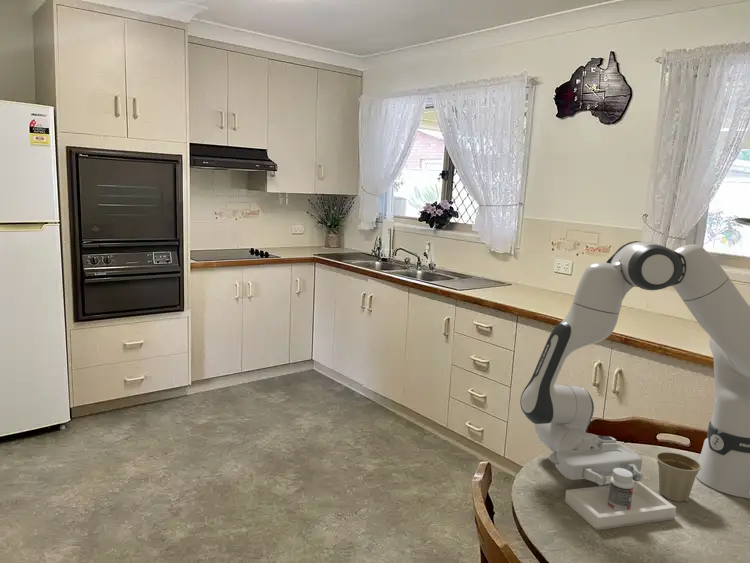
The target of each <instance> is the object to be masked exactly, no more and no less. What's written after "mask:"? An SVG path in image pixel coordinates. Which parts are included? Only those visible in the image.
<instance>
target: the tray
mask: <svg viewBox="0 0 750 563" xmlns="http://www.w3.org/2000/svg"><path fill="white" fill-rule="evenodd" d="M632 482H633V481H632ZM633 485H634V487H633V494H632V501H631V509H630V510H625V511H618V512H616V511H614V510H612V509H610V508H609V507H608V505H607V501H608V494H609V486H610V484H608V485H607V484H606V485H598V486H592V487H591V486H590V487H580V488H573V489H566V491H565V497H564V502H565V503H566V504H567V505H568V506H569V507H570V508H571V509H572V510H573V511H575V512H576V514H578V515H579V516H580V517H582V519H584V520H585V521H586V522H587V523H588V524H589V525H590V526H592V528H594V529H595V530H596V531H601V530H609V529H615V528H623V527H627V526H628V527H630V526H636V525H643V524H649V523H651V524H652V523H657V522H665V521H671V520H672V521H673V520H675V519H676V512H677V506H675V505H674V504H672V503H671V502H669V501H668V500H666V499H665V497H662V496H660V494H658V493H656V492H655V491H653V490H652V488H651V489H650V488H649V487H647V486H646V485H645V484H643V483H642V482H641V481H634V482H633Z"/></svg>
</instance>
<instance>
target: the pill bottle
mask: <svg viewBox="0 0 750 563" xmlns="http://www.w3.org/2000/svg"><path fill="white" fill-rule="evenodd" d="M612 475H613V476H610V480H609V485H610V486H609V494H608V501H607V505H608V507H609V508H610V509H612V510H614V511H616V512H618V511H625V510H630V509H631V501H632V494H633V487H634V485H633V474H632V472H630V471H628V470H626V469H623V468H615V469H613V474H612Z"/></svg>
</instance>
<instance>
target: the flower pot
mask: <svg viewBox="0 0 750 563" xmlns="http://www.w3.org/2000/svg"><path fill="white" fill-rule="evenodd" d="M655 459H656V460H657V462H656V463H657V465H658V492H659V495H662V496H664V498H666V499H668V500H671V501H675V502H679V503H680V502H687V501H688V500H689V499H690V495H691V492H692V488H693V486H694V483H695V481H696V480H695V479H696V475H697V474H698V472H699V470H701V464H700V463H699V462H698V461H699V460H696V459H694V458H693V457H690V456H688V455H685V454H682V453H677V452H673V451H672V452H671V451H669V452H668V451H661V452H657V453H656V454H655Z"/></svg>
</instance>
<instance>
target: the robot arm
mask: <svg viewBox="0 0 750 563" xmlns="http://www.w3.org/2000/svg"><path fill="white" fill-rule="evenodd" d="M614 252H615V253H614V254H612V256H610V257H609V258H608V260H607V261H606V262H601V261H600V262H595V263H594V262H593V263H591V264H590V265H588V266H586V268H585V269H584V272H583V273H582V276H581V277H580V280H579V282H578V284H577V287H576V290H575V293H574V296H573V299H572V300H573V301H572V304H571V306H570V308H569V310H568V312H567V314H566V315H565V317H564V319H563V320H562V321H561V322H559V323H558V324H556V325H555V326H554V327H553V329H552V330H551V333H550V334H549V336H548V338H547V341H546V343H545V345H544V347H543V350H542V352H541V354H540V357H539V358H538V361H537V363H536V367H535V369H534V371H533V374H532V376H531V378H530V379H529V382H528V383H527V384H526V386H525V387H524V389H523V391H522V393H521V396H520V403H519V404H520V408H521V411H522V413H523V414H524V415H525V417H526V418H527V419H528V420H529V421H530V422H531V423H533V424H534V431H535V434H536V436H537V438H538V440H540V442H541V443H542V444H543V445H544V446H545V447H546V448H548V450H550V451H551V452H552V453H550V455H549V456H548V459H549V461H551V463H553V464H555V468H556V469H557V470H558V472H559V473H560V474H561V475H563V477H564V478H566V479H568V480H571V481H574V480H576V481H577V480H588V481H591V482H594V483H596V484H597V485H598V486H606V485H607V483H608V482H607V481H608V477H613V475H612V474H613V469H615V468H623V469H626V470H628V471H630V472H632V474H633V479H632V481H634V482H642V480H643V476H644V475H643V473H642V472H641V470H642V464H643V459H642V457H641V456H640V455H639V453H637V452H635V451H633V450H632V449H631V448H629V447H627V446H626V445H624V444H621V443H618V442H617V439H616V438H614V437H613V436H607V435H598V434H593V433H590V432H586V431H587V430H588V428H589V426H590V423H591V421H592V419H593V416H594V412H595V405H594V401H593V398H592V396H591V394H590V393H589V391H588V390H587V389H586V388H585V387H582V386H576V385H566V384H556V382H557V379H558V377H559V374H560V373H561V370H562V368H563V366H564V363H565V361H566V359H567V358H568V356H569V355H571V354H572V353H573V352H575V351H576V350H579V349H582V348H584V347H587V346H591V345H595V344H598V343H600V342H602V341H604V340H606V339H607V338H609V337H611V335H612V333H614V330H615V328H616V325H617V323H618V320H619V316H620V312H621V308H622V303H623V300H624V299H625V297H626V295H627V294H628V292H629V291H630V290H632V289H633V288H640V289H641V290H645V291H659V290H663V289H666V288H668V287H673V289H674V290H675V291H676V293H677V294H678V295H679V298H680V299H681V300H682V302H683V303H684V304H685V306H686V307H687V309H688V310H689V312H690V313H691V315H692V317H694V319H695V321H696V322H697V323H698V324H699V326H700V327H701V328H702V329H703V330H704V331H705V332H706V333H707V335H709V348H710V350H711V353H712V360H713V372H714V387H715V388H714V390H715V391H714V401H713V406H712V407H713V410H712V413H711V421H709V423H708V426H707V429H706V430H707V431H706V432H707V433H706V436H707V437H706V438H705V439H704V441H703V446H702V449H701V452H700V455H699V459H698V460H697V461H698V462H699V463H700V464H701V470H699V472H698V474H697V475H696V477H697V479H698V480H699V481H700V482H702V484H704V485H706V486H708V487H709V488H712V489H714V490H716V491H719V492H721V493H724V494H728V495H731V496H735V497H740V498H745V499H748V500H750V305H749V303H748V302H747V301H746V300H745V298H744V297H743V295H742V294H741V293H740V291H739V289H738V288H737V287H736V285H735V284H734V283H733V281H732V280H731V278H730V277H729V275H728V274H727V273H726V271H725V270H724V268H723V267H722V266H721V265H720V264H719V263H718V262H717V260H716V259H715V258H714V257H713V256H712V255H711V254H710V253H709V252H708V251H707V250H706V249H704V248H703V247H702V246H700V245H698V244H693V243H692V244H686V245H682V246H680V247H677V248H675V249H674V250H673V249H670V248H669V247H666V246H665V245H660V244H658V243H654V242H650V241H640V240H639V241H638V240H635V241H631V242H627V243H624V244H623V245H621V246H620V247H619V248H618V249H617V250H616V251H614ZM696 477H695V478H696Z"/></svg>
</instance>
